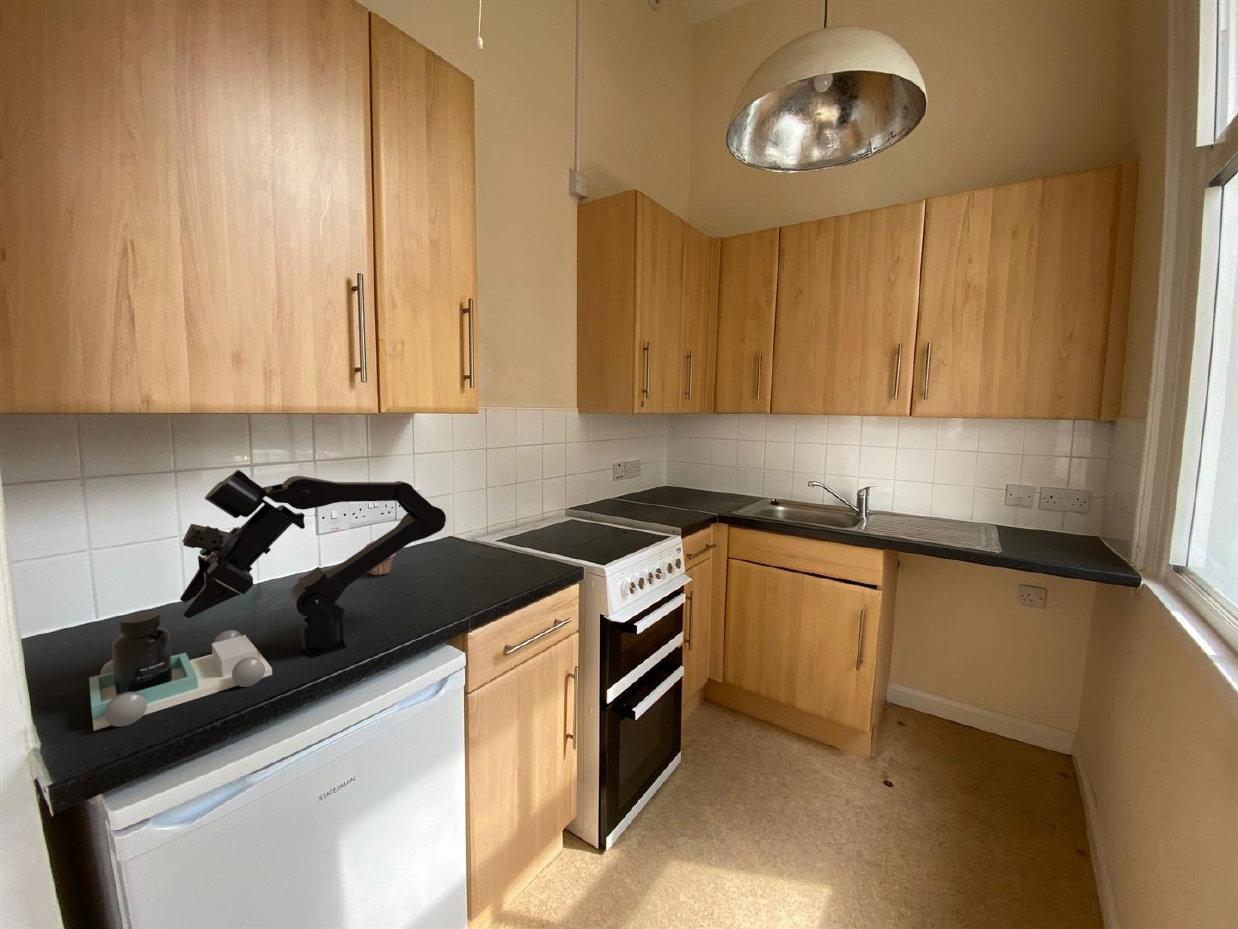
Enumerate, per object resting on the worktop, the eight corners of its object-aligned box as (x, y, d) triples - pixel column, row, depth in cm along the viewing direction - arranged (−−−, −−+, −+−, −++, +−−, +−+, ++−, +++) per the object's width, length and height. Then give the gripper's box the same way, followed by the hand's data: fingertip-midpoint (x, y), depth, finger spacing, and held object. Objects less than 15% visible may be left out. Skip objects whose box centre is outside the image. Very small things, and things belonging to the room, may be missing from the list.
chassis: (250, 646, 100) (249, 625, 100) (274, 678, 89) (273, 654, 88) (90, 690, 84) (88, 665, 84) (94, 736, 73) (91, 707, 72)
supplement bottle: (153, 698, 80) (147, 625, 79) (103, 702, 79) (96, 627, 78) (183, 676, 87) (177, 608, 85) (137, 679, 86) (131, 610, 84)
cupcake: (389, 568, 151) (388, 535, 150) (401, 574, 145) (400, 540, 144) (357, 574, 145) (356, 540, 144) (369, 581, 139) (367, 546, 138)
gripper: (210, 499, 94) (134, 570, 88) (222, 514, 80) (133, 599, 74) (265, 534, 100) (197, 602, 94) (284, 553, 87) (206, 635, 80)
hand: (184, 608), depth 85 cm, fingers open, 9 cm apart
